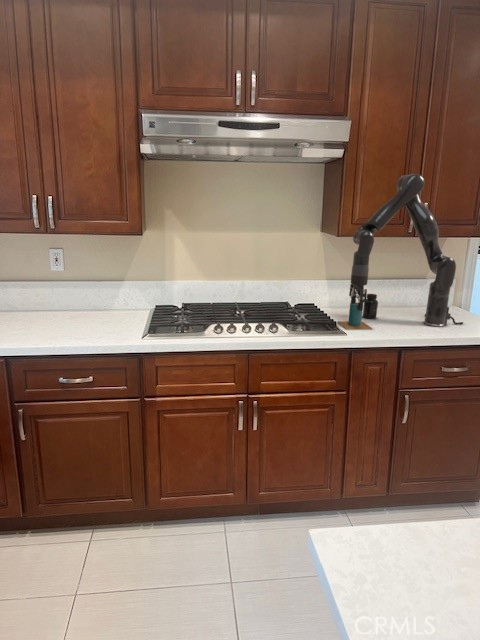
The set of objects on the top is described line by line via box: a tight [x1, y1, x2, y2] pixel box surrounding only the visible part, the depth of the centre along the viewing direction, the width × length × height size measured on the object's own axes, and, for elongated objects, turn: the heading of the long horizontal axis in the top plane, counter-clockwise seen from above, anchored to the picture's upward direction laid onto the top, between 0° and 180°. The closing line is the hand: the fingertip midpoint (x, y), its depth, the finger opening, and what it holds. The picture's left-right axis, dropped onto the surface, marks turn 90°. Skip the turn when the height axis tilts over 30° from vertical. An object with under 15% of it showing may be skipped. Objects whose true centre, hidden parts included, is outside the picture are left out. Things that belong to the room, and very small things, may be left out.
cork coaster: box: [337, 320, 373, 330], centre depth 219 cm, size 12×12×1 cm
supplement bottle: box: [362, 293, 379, 320], centre depth 234 cm, size 7×7×12 cm
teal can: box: [347, 302, 363, 326], centre depth 218 cm, size 6×6×10 cm
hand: (356, 308), depth 217 cm, fingers open, 8 cm apart
